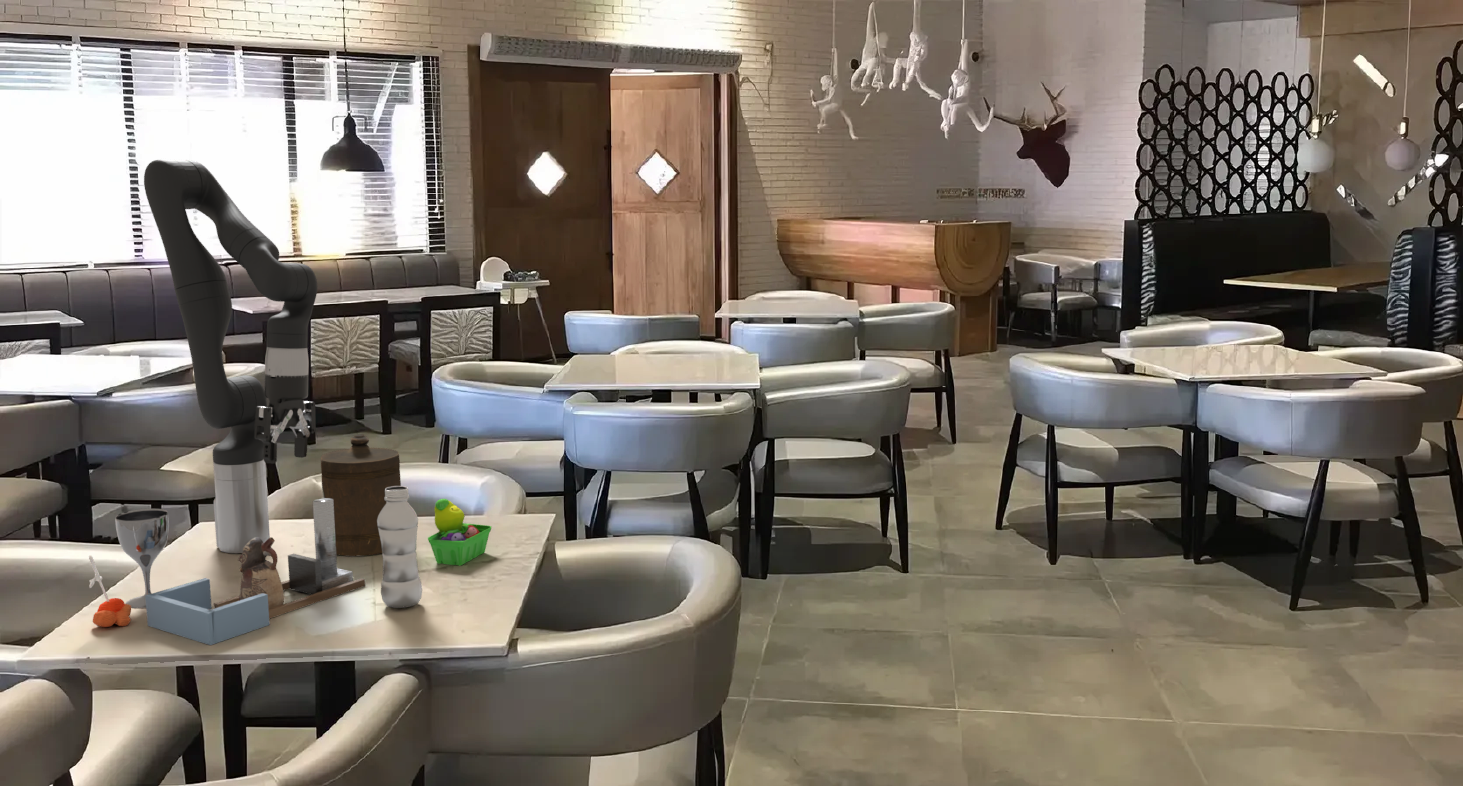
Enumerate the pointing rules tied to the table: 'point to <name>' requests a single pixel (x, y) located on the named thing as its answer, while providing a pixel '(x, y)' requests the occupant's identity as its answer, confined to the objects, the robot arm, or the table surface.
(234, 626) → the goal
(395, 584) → the plastic bottle
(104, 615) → the orange lumpy food
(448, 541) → the fruit basket
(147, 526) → the wine glass
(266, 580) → the figurine
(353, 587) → the lane rails
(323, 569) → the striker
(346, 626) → the table surface
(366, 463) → the wooden container
